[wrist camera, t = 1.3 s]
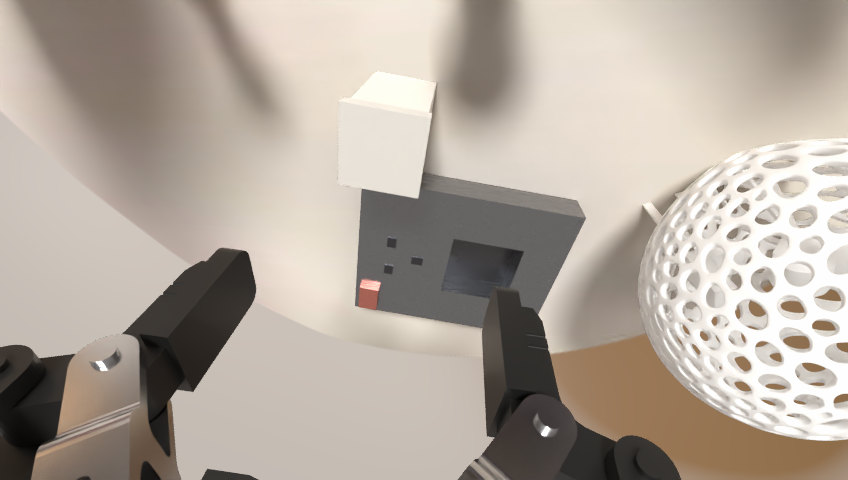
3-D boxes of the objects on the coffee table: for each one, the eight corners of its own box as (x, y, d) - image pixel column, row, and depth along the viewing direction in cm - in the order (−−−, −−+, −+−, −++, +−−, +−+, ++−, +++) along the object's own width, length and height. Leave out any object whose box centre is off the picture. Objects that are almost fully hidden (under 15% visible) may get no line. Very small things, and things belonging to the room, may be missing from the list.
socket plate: (361, 287, 35) (353, 310, 33) (369, 163, 27) (360, 181, 25) (523, 315, 35) (528, 340, 33) (576, 200, 28) (587, 222, 25)
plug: (369, 133, 26) (337, 184, 20) (373, 67, 23) (338, 101, 17) (429, 144, 26) (418, 198, 20) (440, 79, 24) (431, 118, 17)
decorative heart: (907, 47, 20) (1847, 192, 7) (866, 202, 26) (1334, 462, 12) (574, 158, 26) (702, 367, 12) (598, 267, 31) (705, 498, 17)
